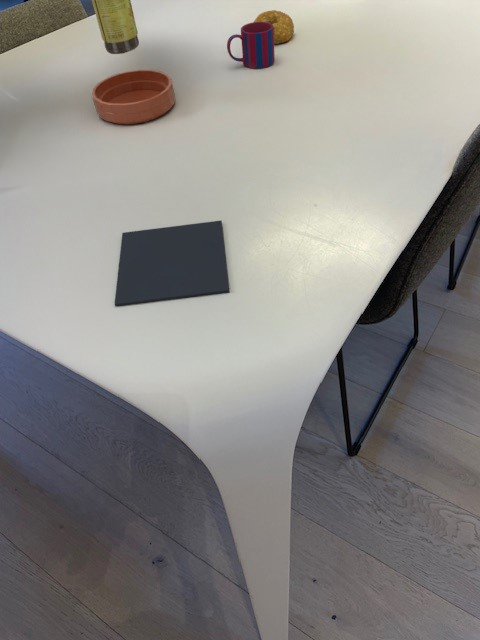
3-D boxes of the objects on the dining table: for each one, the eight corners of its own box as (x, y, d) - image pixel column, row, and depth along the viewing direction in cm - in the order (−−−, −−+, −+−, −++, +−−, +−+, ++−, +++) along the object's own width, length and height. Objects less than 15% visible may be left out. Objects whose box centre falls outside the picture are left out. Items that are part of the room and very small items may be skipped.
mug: (278, 65, 103) (277, 29, 98) (232, 74, 103) (229, 38, 97) (269, 54, 108) (268, 19, 103) (225, 62, 107) (221, 27, 102)
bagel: (239, 41, 114) (237, 18, 111) (273, 27, 119) (272, 4, 115) (268, 51, 109) (267, 27, 106) (303, 36, 113) (303, 12, 110)
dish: (94, 130, 91) (87, 109, 88) (102, 95, 101) (96, 75, 98) (175, 120, 91) (171, 98, 88) (175, 86, 101) (171, 65, 98)
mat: (115, 306, 60) (114, 304, 60) (123, 234, 69) (122, 232, 69) (229, 292, 60) (229, 289, 59) (221, 222, 69) (221, 220, 69)
